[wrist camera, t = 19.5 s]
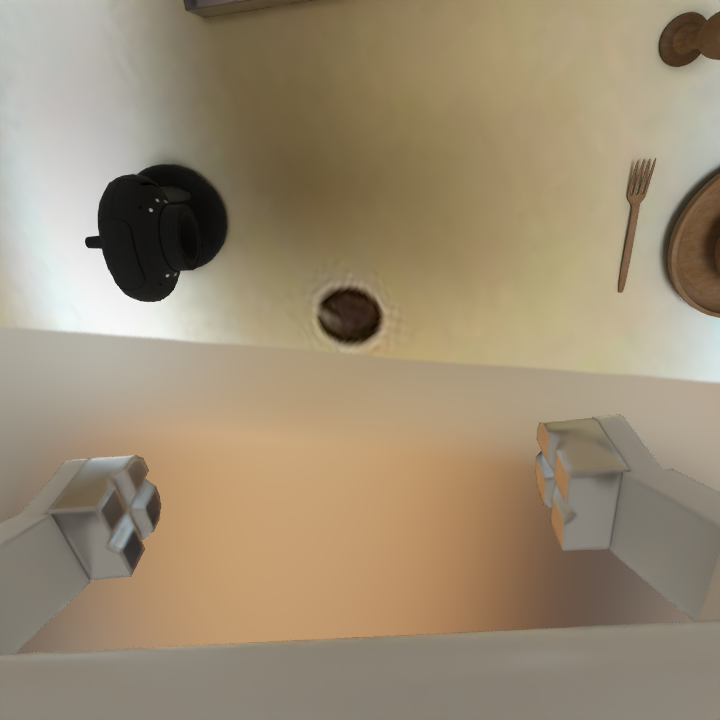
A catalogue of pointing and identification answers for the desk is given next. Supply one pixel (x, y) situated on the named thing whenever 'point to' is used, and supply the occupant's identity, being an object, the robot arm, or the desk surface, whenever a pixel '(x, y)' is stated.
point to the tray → (230, 6)
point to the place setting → (709, 205)
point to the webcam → (157, 230)
